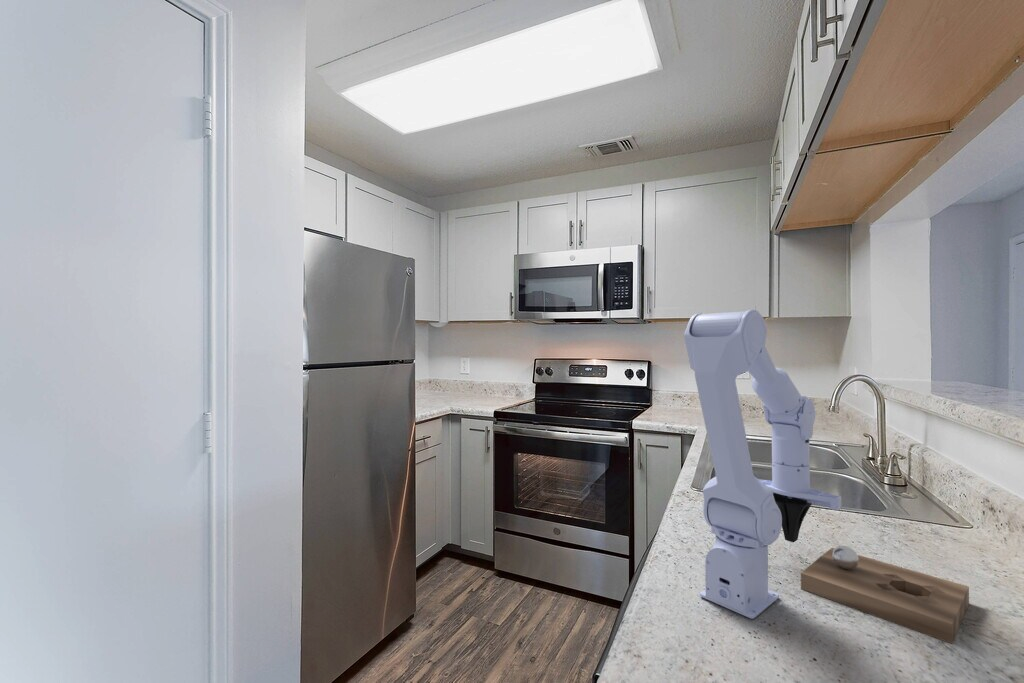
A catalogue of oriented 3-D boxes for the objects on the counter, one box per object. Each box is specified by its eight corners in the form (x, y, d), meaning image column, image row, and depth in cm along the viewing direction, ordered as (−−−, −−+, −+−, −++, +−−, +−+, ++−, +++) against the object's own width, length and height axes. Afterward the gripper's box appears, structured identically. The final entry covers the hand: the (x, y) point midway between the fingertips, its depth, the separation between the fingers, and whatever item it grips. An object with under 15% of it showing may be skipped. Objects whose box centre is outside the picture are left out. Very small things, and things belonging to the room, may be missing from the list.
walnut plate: (952, 643, 59) (952, 624, 59) (800, 588, 73) (800, 573, 73) (969, 603, 69) (968, 586, 69) (832, 561, 82) (832, 547, 82)
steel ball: (855, 575, 72) (855, 553, 72) (829, 567, 75) (829, 545, 75) (861, 568, 74) (861, 547, 74) (836, 561, 77) (836, 540, 77)
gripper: (846, 467, 78) (847, 547, 77) (757, 452, 89) (758, 522, 89) (832, 474, 73) (834, 559, 73) (740, 457, 84) (741, 531, 84)
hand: (791, 539), depth 81 cm, fingers closed
